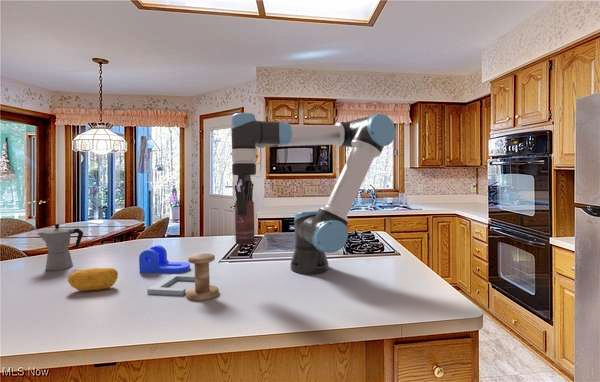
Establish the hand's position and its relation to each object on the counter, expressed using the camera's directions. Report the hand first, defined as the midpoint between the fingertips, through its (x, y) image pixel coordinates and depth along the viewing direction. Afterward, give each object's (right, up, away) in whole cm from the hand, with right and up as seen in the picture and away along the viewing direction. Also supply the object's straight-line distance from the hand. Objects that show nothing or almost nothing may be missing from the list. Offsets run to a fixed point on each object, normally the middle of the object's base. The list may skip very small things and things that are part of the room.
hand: (245, 235), depth 106 cm
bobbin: (-13, -19, -2) cm, 23 cm away
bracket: (-35, -17, +24) cm, 46 cm away
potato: (-51, -19, +3) cm, 54 cm away
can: (0, -3, 0) cm, 3 cm away
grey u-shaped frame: (-24, -18, +6) cm, 31 cm away
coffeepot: (-80, -17, +28) cm, 86 cm away
